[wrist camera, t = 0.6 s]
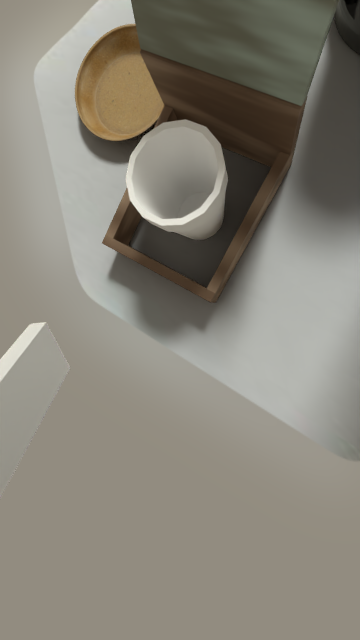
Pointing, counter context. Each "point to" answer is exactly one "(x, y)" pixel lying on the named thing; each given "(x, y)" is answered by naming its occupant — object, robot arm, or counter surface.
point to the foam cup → (179, 179)
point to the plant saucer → (117, 87)
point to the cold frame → (229, 94)
